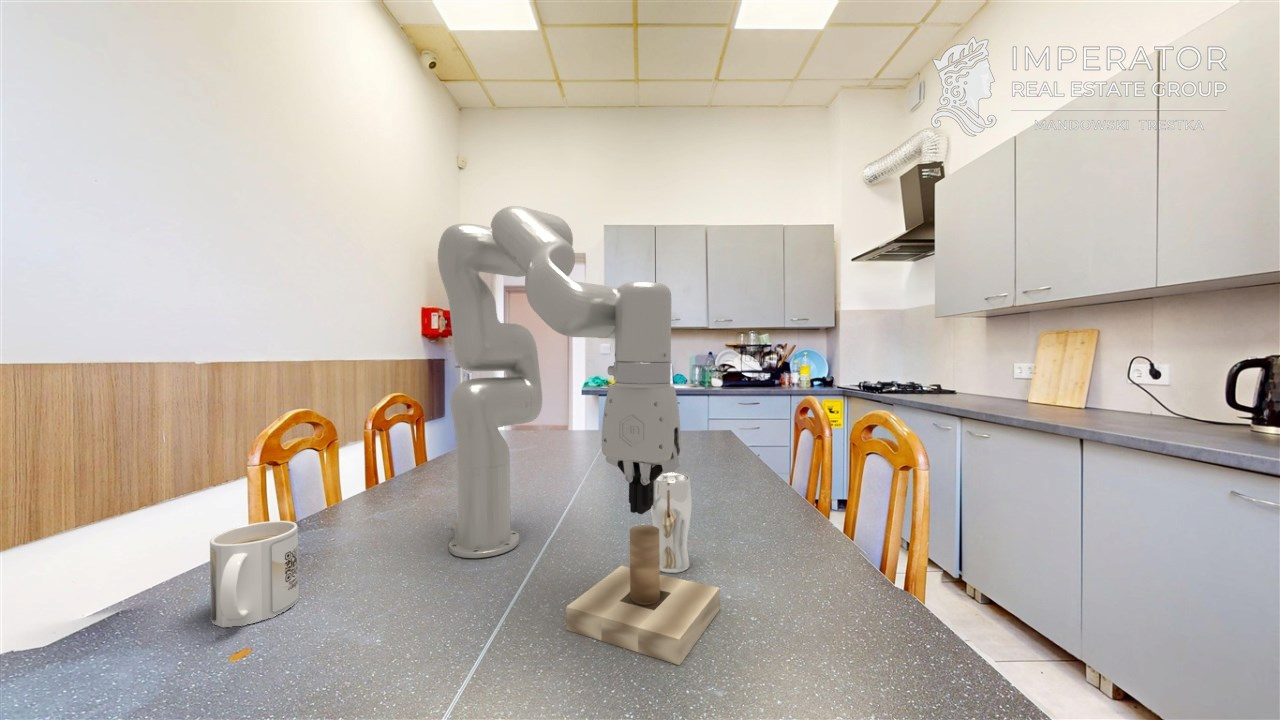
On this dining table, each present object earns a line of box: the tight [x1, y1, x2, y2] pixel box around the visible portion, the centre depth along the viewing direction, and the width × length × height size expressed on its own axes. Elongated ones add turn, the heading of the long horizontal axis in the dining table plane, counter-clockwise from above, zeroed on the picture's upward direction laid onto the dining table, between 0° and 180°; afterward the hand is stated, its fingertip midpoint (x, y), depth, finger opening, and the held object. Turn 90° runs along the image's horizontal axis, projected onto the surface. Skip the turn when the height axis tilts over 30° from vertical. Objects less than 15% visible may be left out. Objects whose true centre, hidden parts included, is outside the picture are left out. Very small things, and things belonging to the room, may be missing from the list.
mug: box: [209, 520, 300, 628], centre depth 68 cm, size 10×12×11 cm
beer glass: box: [650, 472, 692, 574], centre depth 83 cm, size 7×7×15 cm
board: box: [565, 565, 721, 666], centre depth 66 cm, size 16×14×3 cm
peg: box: [629, 524, 661, 610], centre depth 66 cm, size 4×4×12 cm
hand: (641, 510), depth 66 cm, fingers closed
